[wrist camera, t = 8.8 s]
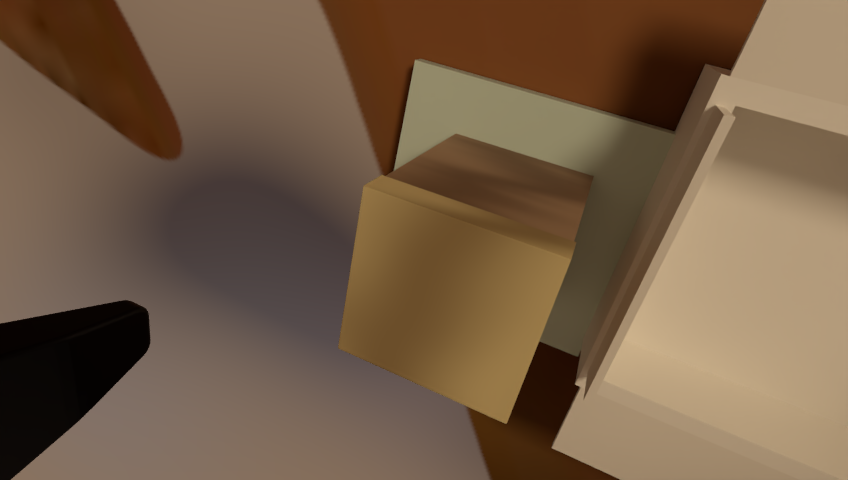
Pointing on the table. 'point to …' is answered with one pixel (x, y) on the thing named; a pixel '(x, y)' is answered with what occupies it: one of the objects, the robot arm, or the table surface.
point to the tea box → (461, 268)
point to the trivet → (556, 143)
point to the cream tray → (734, 278)
